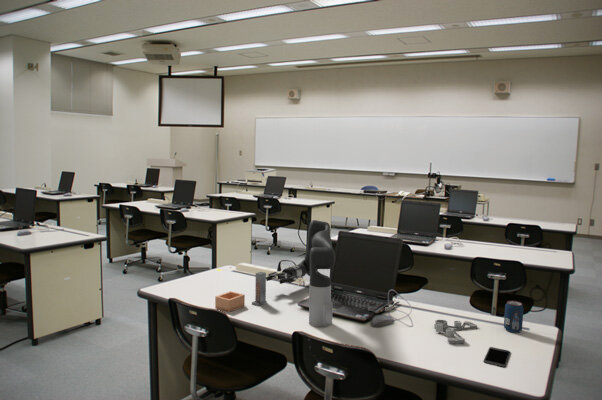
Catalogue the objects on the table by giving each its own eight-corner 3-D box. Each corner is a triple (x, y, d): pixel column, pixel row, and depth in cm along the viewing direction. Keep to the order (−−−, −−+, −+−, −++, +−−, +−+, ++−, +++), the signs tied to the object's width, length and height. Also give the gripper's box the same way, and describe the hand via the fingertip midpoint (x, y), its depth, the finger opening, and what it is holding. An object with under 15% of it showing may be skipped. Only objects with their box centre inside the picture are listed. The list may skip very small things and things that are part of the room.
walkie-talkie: (381, 316, 196) (400, 305, 212) (382, 307, 196) (401, 296, 212) (364, 312, 202) (384, 301, 217) (365, 303, 201) (384, 292, 217)
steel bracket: (266, 302, 211) (266, 272, 210) (258, 306, 206) (259, 275, 205) (259, 300, 214) (259, 271, 212) (251, 304, 209) (251, 274, 207)
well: (244, 305, 207) (244, 294, 206) (229, 312, 198) (229, 300, 197) (230, 302, 212) (230, 291, 211) (215, 307, 203) (215, 296, 202)
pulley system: (423, 340, 173) (462, 347, 165) (423, 328, 173) (462, 335, 164) (444, 322, 196) (479, 328, 187) (444, 311, 195) (479, 317, 187)
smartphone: (482, 363, 153) (482, 361, 153) (489, 348, 165) (489, 345, 165) (505, 369, 149) (505, 367, 149) (510, 353, 161) (510, 351, 161)
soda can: (512, 326, 186) (514, 299, 185) (525, 332, 180) (527, 304, 179) (499, 328, 184) (501, 301, 183) (513, 334, 178) (515, 306, 176)
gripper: (281, 264, 235) (262, 271, 222) (303, 268, 227) (284, 275, 214) (281, 278, 236) (262, 285, 223) (302, 282, 228) (284, 290, 215)
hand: (273, 280), depth 218 cm, fingers open, 8 cm apart
